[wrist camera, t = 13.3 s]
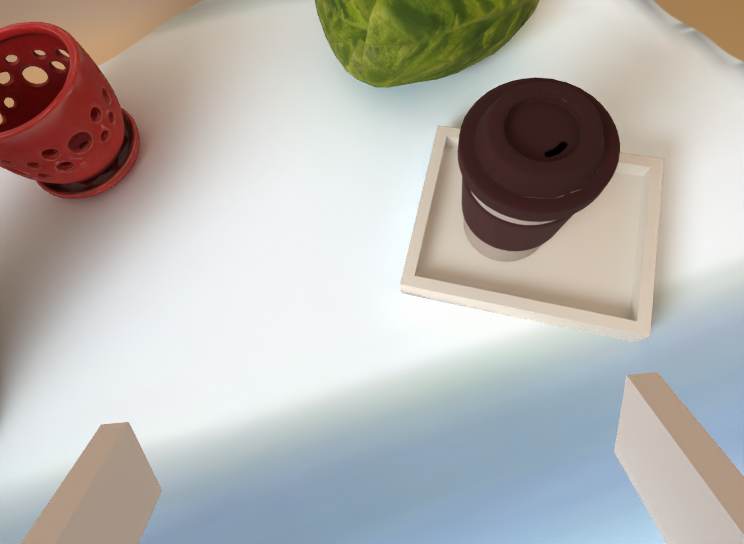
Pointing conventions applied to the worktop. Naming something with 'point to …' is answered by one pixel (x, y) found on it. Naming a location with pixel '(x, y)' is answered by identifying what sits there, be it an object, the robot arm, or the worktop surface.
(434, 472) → the worktop surface
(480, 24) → the lettuce
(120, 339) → the worktop surface
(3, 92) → the plant pot
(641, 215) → the tray
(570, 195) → the coffee cup
